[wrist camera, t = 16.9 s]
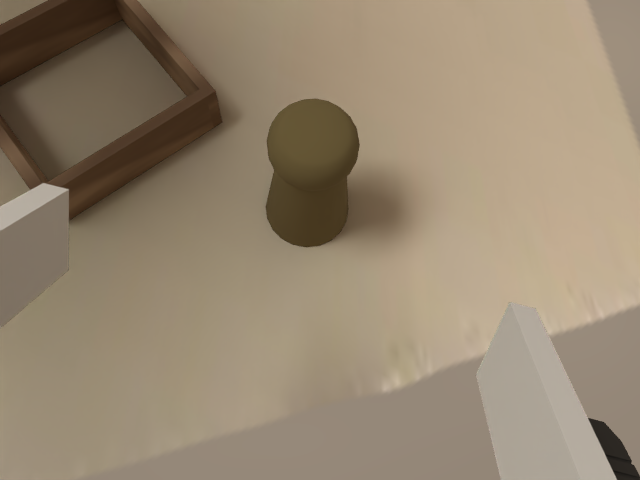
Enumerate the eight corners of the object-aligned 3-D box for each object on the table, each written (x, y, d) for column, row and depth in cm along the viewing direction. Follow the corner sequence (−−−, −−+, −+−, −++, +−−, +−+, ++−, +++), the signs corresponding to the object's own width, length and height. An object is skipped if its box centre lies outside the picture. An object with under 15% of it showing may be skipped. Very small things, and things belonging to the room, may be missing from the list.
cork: (250, 197, 38) (235, 113, 28) (317, 157, 39) (328, 63, 29) (296, 262, 36) (299, 200, 26) (364, 218, 38) (393, 143, 27)
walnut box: (-30, 92, 39) (-64, 57, 36) (125, 8, 43) (109, -32, 39) (63, 223, 36) (38, 200, 33) (222, 122, 40) (215, 90, 36)
